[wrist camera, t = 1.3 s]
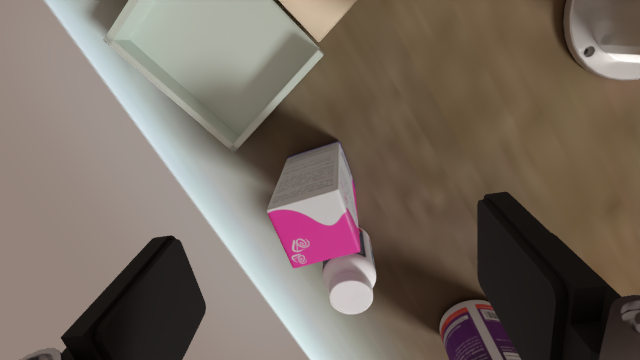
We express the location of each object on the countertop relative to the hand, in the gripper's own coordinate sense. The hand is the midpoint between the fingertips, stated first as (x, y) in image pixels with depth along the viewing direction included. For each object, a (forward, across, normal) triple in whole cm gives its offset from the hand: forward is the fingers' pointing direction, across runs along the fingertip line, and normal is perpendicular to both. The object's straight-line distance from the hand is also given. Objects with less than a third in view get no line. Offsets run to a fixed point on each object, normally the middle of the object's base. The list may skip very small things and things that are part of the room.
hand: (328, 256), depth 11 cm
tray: (+24, +9, -7) cm, 27 cm away
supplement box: (+24, +3, +7) cm, 25 cm away
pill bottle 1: (+24, +1, +15) cm, 29 cm away
